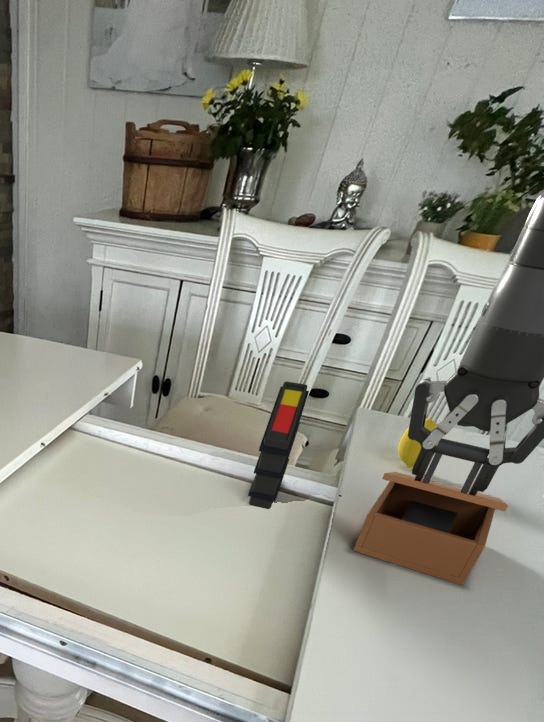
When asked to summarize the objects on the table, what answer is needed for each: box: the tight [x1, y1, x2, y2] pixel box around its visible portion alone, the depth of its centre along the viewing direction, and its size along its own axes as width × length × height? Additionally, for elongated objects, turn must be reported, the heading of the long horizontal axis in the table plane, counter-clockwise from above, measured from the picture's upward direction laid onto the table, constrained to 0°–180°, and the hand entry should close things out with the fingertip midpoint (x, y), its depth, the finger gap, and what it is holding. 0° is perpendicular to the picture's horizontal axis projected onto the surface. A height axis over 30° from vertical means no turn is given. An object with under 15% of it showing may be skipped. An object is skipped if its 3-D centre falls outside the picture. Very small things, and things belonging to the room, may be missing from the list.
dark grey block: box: [401, 501, 457, 533], centre depth 74 cm, size 6×10×3 cm, turn 145°
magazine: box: [247, 381, 310, 510], centre depth 82 cm, size 4×13×15 cm, turn 156°
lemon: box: [397, 417, 439, 469], centre depth 93 cm, size 6×6×8 cm
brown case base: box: [352, 481, 496, 586], centre depth 74 cm, size 14×13×5 cm
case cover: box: [381, 438, 509, 512], centre depth 70 cm, size 14×13×6 cm
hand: (445, 485), depth 67 cm, fingers closed on case cover, 5 cm apart
